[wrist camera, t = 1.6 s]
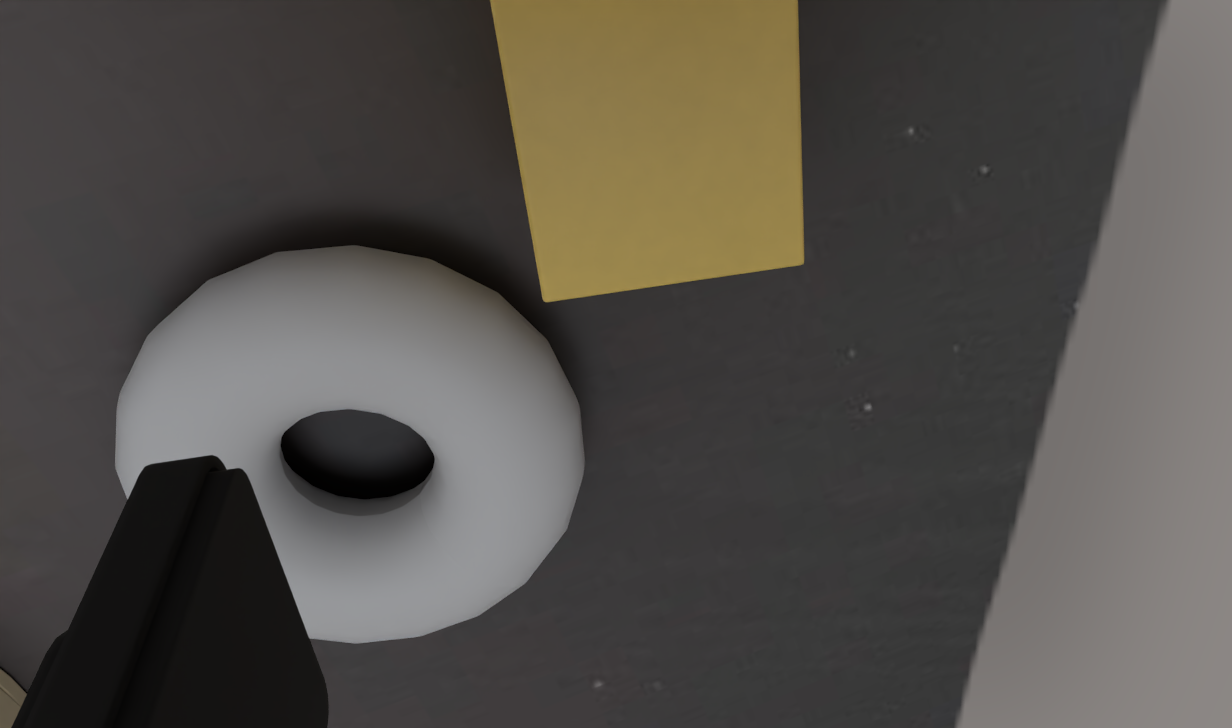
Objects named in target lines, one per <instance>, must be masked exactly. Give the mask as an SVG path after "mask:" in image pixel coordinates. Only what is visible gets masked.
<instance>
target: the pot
mask: <svg viewBox="0 0 1232 728" xmlns="http://www.w3.org/2000/svg"><path fill="white" fill-rule="evenodd" d="M26 695H27V693H26V692H25V691H24V690H23V689H22V688H21V687H20V686H19V685H18V684H17V683H16V682H15V681H14V680H13V679H12V678H11V677H10V676H9V675H7V674H6V673H5V672H4V671H3V670H1V669H0V728H11V727H12V725H13V723H14V721H15V719H16V717H17V714H18V712H19V710H20V708H21V706H22V704H23V702H24V699H25V697H26Z"/></svg>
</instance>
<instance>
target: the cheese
mask: <svg viewBox="0 0 1232 728" xmlns="http://www.w3.org/2000/svg"><path fill="white" fill-rule="evenodd" d="M490 3H491V9H492V15H493V20H494V26H495V32H496V37H497V43H498V49H499V54H500V60H501V66H502V71H503V77H504V83H505V88H506V94H507V100H508V105H509V111H510V117H511V122H512V128H513V134H514V140H515V145H516V151H517V157H518V162H519V168H520V174H521V179H522V185H523V191H524V196H525V202H526V208H527V213H528V219H529V225H530V230H531V236H532V242H533V247H534V253H535V259H536V264H537V270H538V276H539V281H540V287H541V293H542V298H543V300H544V302H553V301H559V300H566V299H573V298H580V297H587V296H593V295H600V294H607V293H614V292H621V291H627V290H634V289H641V288H648V287H655V286H662V285H668V284H675V283H682V282H689V281H696V280H702V279H709V278H716V277H723V276H730V275H737V274H743V273H750V272H757V271H764V270H771V269H777V268H784V267H791V266H798V265H802V264H803V263H804V224H803V184H802V144H801V104H800V64H799V23H798V0H490Z"/></svg>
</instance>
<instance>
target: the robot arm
mask: <svg viewBox="0 0 1232 728" xmlns="http://www.w3.org/2000/svg"><path fill="white" fill-rule="evenodd" d="M327 724H328V694H327V688H326V683H325V680H324V677H323V674H322V671H321V669H320V666H319V663H318V661H317V658H316V655H315V653H314V650H313V647H312V645H311V642H310V639H309V637H308V634H307V631H306V629H305V626H304V623H303V621H302V618H301V615H300V613H299V610H298V607H297V605H296V602H295V599H294V597H293V594H292V591H291V589H290V586H289V583H288V581H287V578H286V575H285V573H284V570H283V567H282V565H281V562H280V559H279V557H278V554H277V551H276V549H275V546H274V543H273V541H272V538H271V535H270V533H269V530H268V527H267V525H266V522H265V519H264V517H263V514H262V511H261V509H260V506H259V503H258V501H257V498H256V495H255V493H254V490H253V487H252V485H251V482H250V480H249V478H248V476H247V474H246V473H245V471H244V470H243V469H240V468H234V469H228V470H227V469H226V467H225V465H224V463H223V462H222V461H221V460H220V459H219V458H218V457H217V456H214V455H208V456H201V457H195V458H188V459H181V460H174V461H167V462H161V463H154V464H150V465H147V466H145V467H144V468H143V470H142V471H141V473H140V474H139V476H138V478H137V481H136V483H135V485H134V487H133V489H132V491H131V494H130V496H129V498H128V500H127V502H126V505H125V507H124V509H123V511H122V513H121V515H120V518H119V520H118V522H117V524H116V526H115V529H114V531H113V533H112V535H111V537H110V539H109V542H108V544H107V546H106V548H105V550H104V553H103V555H102V557H101V559H100V561H99V564H98V566H97V568H96V570H95V572H94V574H93V577H92V579H91V581H90V583H89V585H88V588H87V590H86V592H85V594H84V596H83V598H82V601H81V603H80V605H79V607H78V609H77V612H76V614H75V616H74V618H73V620H72V622H71V625H70V627H69V629H68V630H67V631H66V632H64V633H63V634H61V635H60V636H59V637H57V638H56V639H55V641H54V642H53V644H52V645H51V647H50V648H49V650H48V651H47V653H46V655H45V657H44V659H43V661H42V663H41V665H40V668H39V670H38V672H37V674H36V676H35V678H34V680H33V682H32V685H31V687H30V689H29V691H28V693H27V695H26V697H25V699H24V702H23V704H22V706H21V708H20V710H19V712H18V714H17V717H16V719H15V721H14V723H13V725H12V727H11V728H327Z"/></svg>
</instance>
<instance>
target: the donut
mask: <svg viewBox="0 0 1232 728" xmlns="http://www.w3.org/2000/svg"><path fill="white" fill-rule="evenodd" d="M344 409H354V410H360V411H367V412H373V413H380V414H383V415H385V416H387V417H390V418H392V419H394V420H397V421H399V422H401V423H404V424H406V425H408V426H410V427H411V428H412V429H413V430H414V431H416V432H417V433H418V434H419V435H421V436H422V437H423V438H424V439H425V441H426V442H427V444H428V446H429V447H430V449H431V450H432V452H433V454H434V458H435V461H434V466H433V469H432V471H431V472H430V473H429V475H428V476H427V478H426V479H425V481H423V482H422V483H421V484H419V485H418V486H417V487H415V488H413V489H410V490H408V491H405V492H402V493H400V494H397V495H394V496H392V497H384V498H375V499H365V500H364V499H357V498H349V497H342V496H337V495H334V494H332V493H329V492H327V491H324V490H322V489H319V488H317V487H314V486H312V485H311V484H310V483H308V482H307V481H306V480H304V479H303V478H302V477H300V476H299V475H297V474H296V473H295V472H293V471H292V469H291V468H290V467H289V465H288V464H287V463H286V461H285V460H284V456H283V453H282V449H281V438H282V435H283V434H284V432H285V431H286V430H287V429H289V428H290V427H291V426H292V425H294V424H295V423H296V422H297V421H299V420H300V419H302V418H305V417H307V416H310V415H313V414H315V413H318V412H324V411H334V410H344ZM208 455H214V456H217V457H218V458H219V459H220V460H221V461H222V462H223V463H224V465H225V467H226V469H227V470H228V469H234V468H240V469H243V470H244V471H245V473H246V474H247V476H248V478H249V480H250V482H251V485H252V487H253V490H254V493H255V495H256V498H257V501H258V503H259V506H260V509H261V511H262V514H263V517H264V519H265V522H266V525H267V527H268V530H269V533H270V535H271V538H272V541H273V543H274V546H275V549H276V551H277V554H278V557H279V559H280V562H281V565H282V567H283V570H284V573H285V575H286V578H287V581H288V583H289V586H290V589H291V591H292V594H293V597H294V599H295V602H296V605H297V607H298V610H299V613H300V615H301V618H302V621H303V623H304V626H305V629H306V631H307V634H308V637H309V638H311V639H320V640H329V641H338V642H347V643H366V642H375V641H384V640H393V639H402V638H412V637H419V636H423V635H426V634H428V633H431V632H434V631H437V630H440V629H443V628H445V627H448V626H451V625H454V624H457V623H459V622H462V621H465V620H468V619H471V618H474V617H476V616H479V615H480V614H482V613H483V612H485V611H486V610H487V609H489V608H490V607H492V606H493V605H495V604H496V603H498V602H499V601H500V600H502V599H503V598H505V597H506V596H508V595H509V594H511V593H512V592H514V591H515V590H516V589H518V588H519V587H521V586H522V585H524V584H525V583H526V582H527V581H528V579H529V578H530V577H531V575H532V574H533V573H534V572H535V570H536V569H537V568H538V566H539V565H540V564H541V562H542V561H543V560H544V559H545V557H546V556H547V555H548V553H549V552H550V551H551V549H552V548H553V547H554V546H555V544H556V543H557V542H558V540H559V539H560V538H561V537H562V535H563V534H564V533H565V531H566V530H567V527H568V524H569V521H570V518H571V514H572V511H573V508H574V505H575V501H576V498H577V495H578V491H579V488H580V485H581V482H582V478H583V473H584V466H585V458H584V447H583V436H582V426H581V415H580V406H579V403H578V401H577V398H576V396H575V393H574V391H573V389H572V388H571V386H570V384H569V382H568V380H567V378H566V376H565V374H564V372H563V370H562V368H561V366H560V364H559V362H558V360H557V358H556V356H555V354H554V352H553V350H552V348H551V346H550V344H549V342H548V340H547V339H546V338H545V337H544V336H543V335H542V334H541V333H540V332H539V331H538V330H537V329H536V328H535V327H533V326H532V325H531V324H530V323H529V322H528V321H527V320H526V319H525V318H524V317H523V316H522V315H521V314H520V313H519V312H518V311H517V310H516V309H515V308H514V307H512V306H511V305H510V304H509V303H508V302H507V301H506V300H505V299H504V298H503V297H502V296H501V295H500V294H499V293H498V292H496V291H494V290H492V289H490V288H488V287H486V286H484V285H482V284H480V283H478V282H476V281H474V280H472V279H470V278H468V277H466V276H464V275H462V274H460V273H458V272H455V271H453V270H451V269H449V268H447V267H445V266H443V265H441V264H439V263H437V262H435V261H433V260H431V259H428V258H422V257H417V256H412V255H406V254H401V253H395V252H390V251H385V250H379V249H374V248H369V247H363V246H358V245H349V246H339V247H328V248H317V249H306V250H295V251H285V252H276V253H273V254H271V255H268V256H266V257H263V258H261V259H259V260H256V261H254V262H251V263H249V264H246V265H244V266H241V267H239V268H237V269H234V270H232V271H229V272H227V273H224V274H222V275H220V276H217V277H215V278H212V279H210V280H208V281H207V282H205V283H204V284H203V285H202V286H201V287H200V288H199V289H198V290H196V291H195V292H194V293H193V294H192V295H191V296H190V297H189V298H187V299H186V300H185V301H184V302H183V303H182V304H181V305H180V306H178V307H177V308H176V309H175V310H174V311H173V312H172V313H171V314H169V315H168V316H167V317H166V318H165V319H164V320H163V321H162V322H161V323H159V324H158V325H157V326H156V327H155V328H154V329H153V330H152V332H151V333H150V334H149V335H148V336H147V338H146V340H145V342H144V344H143V346H142V348H141V350H140V352H139V354H138V356H137V358H136V360H135V362H134V364H133V367H132V369H131V371H130V373H129V375H128V377H127V379H126V381H125V383H124V385H123V387H122V389H121V391H120V394H119V399H118V404H117V417H116V451H115V468H116V471H117V474H118V476H119V479H120V481H121V484H122V486H123V489H124V492H125V494H126V497H127V499H128V498H129V496H130V494H131V491H132V489H133V487H134V485H135V483H136V481H137V478H138V476H139V474H140V473H141V471H142V470H143V468H144V467H145V466H147V465H150V464H154V463H161V462H167V461H174V460H181V459H188V458H195V457H201V456H208Z"/></svg>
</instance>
